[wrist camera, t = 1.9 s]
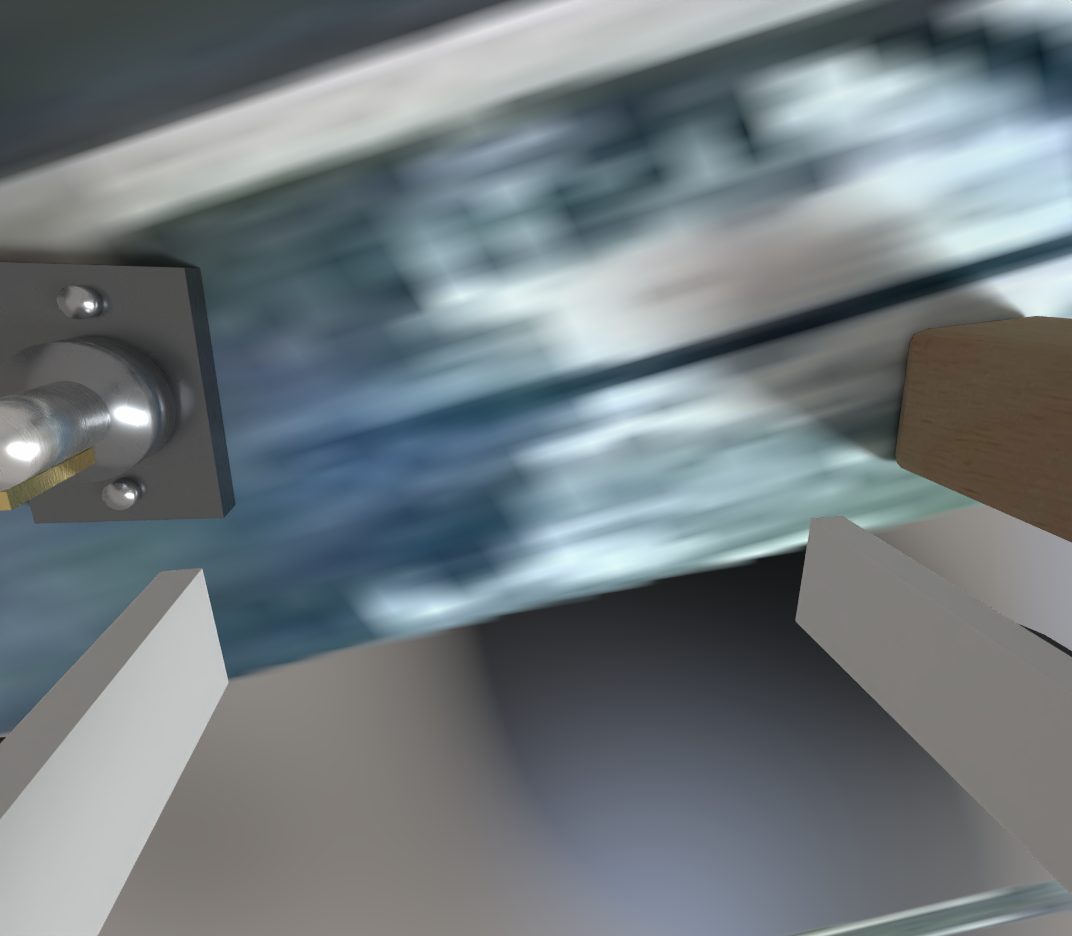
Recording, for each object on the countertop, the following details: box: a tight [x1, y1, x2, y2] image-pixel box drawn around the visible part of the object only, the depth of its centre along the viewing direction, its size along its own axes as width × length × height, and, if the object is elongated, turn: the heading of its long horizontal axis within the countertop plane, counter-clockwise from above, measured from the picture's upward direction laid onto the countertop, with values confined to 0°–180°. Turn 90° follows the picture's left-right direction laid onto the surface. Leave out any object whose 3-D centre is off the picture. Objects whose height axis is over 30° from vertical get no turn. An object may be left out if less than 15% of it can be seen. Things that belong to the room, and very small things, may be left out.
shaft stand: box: [0, 262, 235, 523], centre depth 28 cm, size 14×10×11 cm
